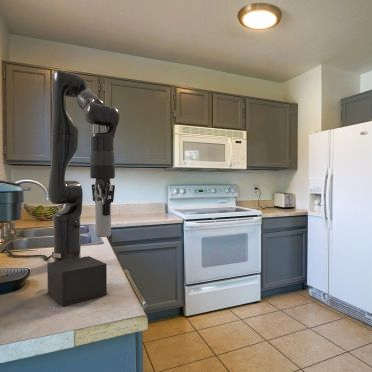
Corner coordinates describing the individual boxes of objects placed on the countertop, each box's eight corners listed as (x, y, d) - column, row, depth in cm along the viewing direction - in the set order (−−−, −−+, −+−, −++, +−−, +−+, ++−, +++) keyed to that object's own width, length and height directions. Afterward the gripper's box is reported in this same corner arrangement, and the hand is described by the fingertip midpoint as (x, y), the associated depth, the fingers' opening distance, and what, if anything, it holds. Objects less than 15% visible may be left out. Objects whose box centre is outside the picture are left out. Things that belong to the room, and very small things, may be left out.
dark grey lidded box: (47, 293, 92) (47, 262, 92) (89, 284, 101) (89, 256, 101) (62, 306, 83) (61, 272, 83) (106, 294, 91) (106, 263, 91)
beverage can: (113, 234, 109) (113, 200, 109) (107, 237, 104) (107, 201, 104) (99, 234, 109) (99, 200, 108) (92, 237, 104) (92, 201, 104)
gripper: (123, 164, 104) (123, 215, 104) (105, 165, 113) (105, 212, 114) (99, 163, 98) (99, 217, 99) (83, 164, 108) (83, 213, 108)
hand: (102, 214), depth 106 cm, fingers closed on beverage can, 5 cm apart
